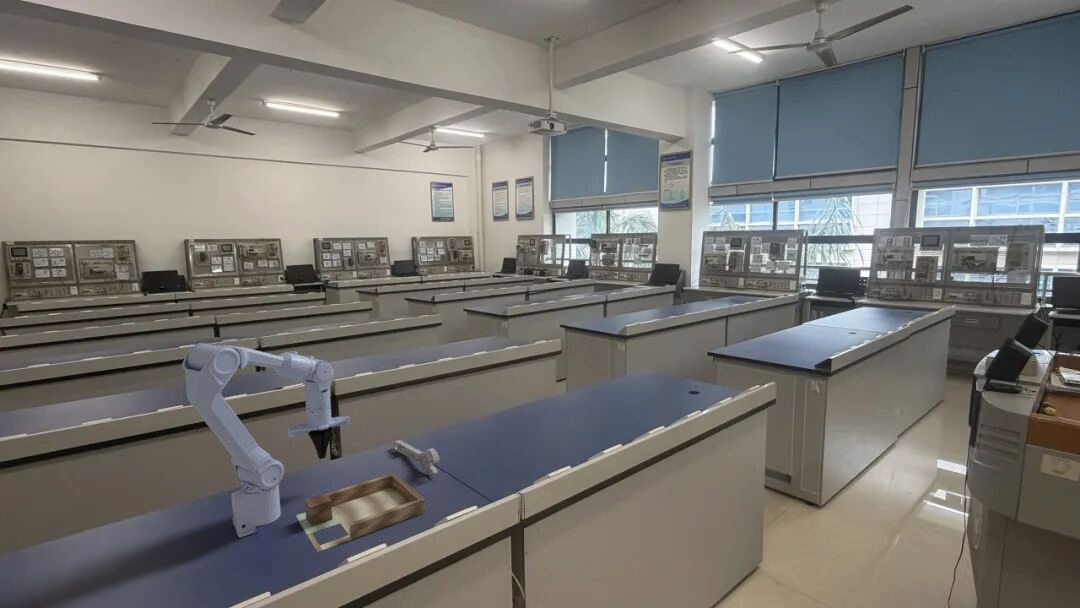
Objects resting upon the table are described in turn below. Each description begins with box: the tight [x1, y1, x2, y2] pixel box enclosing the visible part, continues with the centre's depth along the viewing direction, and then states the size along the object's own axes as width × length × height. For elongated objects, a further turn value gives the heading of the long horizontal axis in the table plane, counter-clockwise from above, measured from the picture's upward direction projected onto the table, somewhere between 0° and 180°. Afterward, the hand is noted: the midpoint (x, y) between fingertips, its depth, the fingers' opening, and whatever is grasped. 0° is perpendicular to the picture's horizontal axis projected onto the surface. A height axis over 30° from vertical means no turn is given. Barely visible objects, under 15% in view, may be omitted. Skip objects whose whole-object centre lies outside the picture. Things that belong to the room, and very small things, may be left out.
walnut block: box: [304, 492, 332, 527], centre depth 114 cm, size 4×4×4 cm
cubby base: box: [295, 472, 426, 553], centre depth 116 cm, size 24×18×4 cm
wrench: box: [393, 439, 441, 477], centre depth 145 cm, size 8×2×30 cm
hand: (321, 457), depth 128 cm, fingers closed
